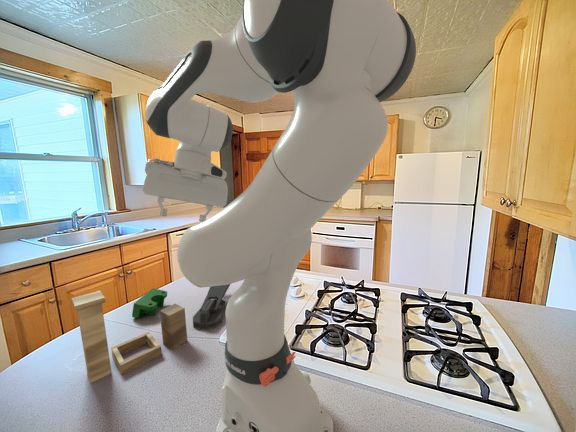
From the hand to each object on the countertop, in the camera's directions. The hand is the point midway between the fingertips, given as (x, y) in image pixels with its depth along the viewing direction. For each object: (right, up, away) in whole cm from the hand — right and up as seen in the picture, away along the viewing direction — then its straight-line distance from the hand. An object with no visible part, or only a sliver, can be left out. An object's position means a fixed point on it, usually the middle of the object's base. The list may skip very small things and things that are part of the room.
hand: (183, 218), depth 64 cm
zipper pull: (+1, -32, +24) cm, 40 cm away
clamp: (-20, -33, +22) cm, 44 cm away
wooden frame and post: (-14, -36, -2) cm, 39 cm away
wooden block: (-5, -35, +6) cm, 36 cm away
